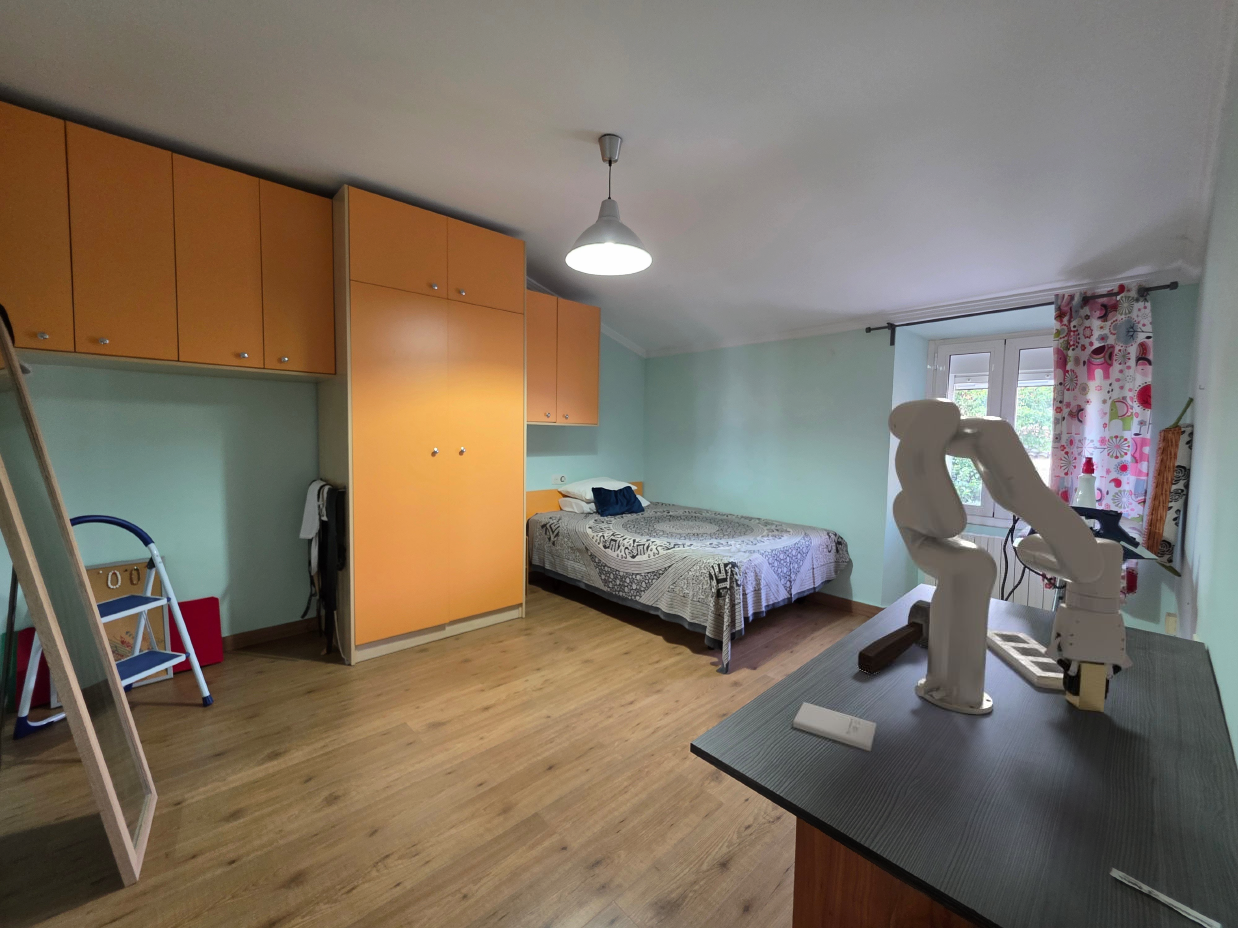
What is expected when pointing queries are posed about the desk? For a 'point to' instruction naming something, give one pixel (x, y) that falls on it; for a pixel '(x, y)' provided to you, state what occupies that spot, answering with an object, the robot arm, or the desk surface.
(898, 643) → the hammer
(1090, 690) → the brass peg
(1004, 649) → the white flat frame
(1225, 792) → the desk surface
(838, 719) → the external hard drive
